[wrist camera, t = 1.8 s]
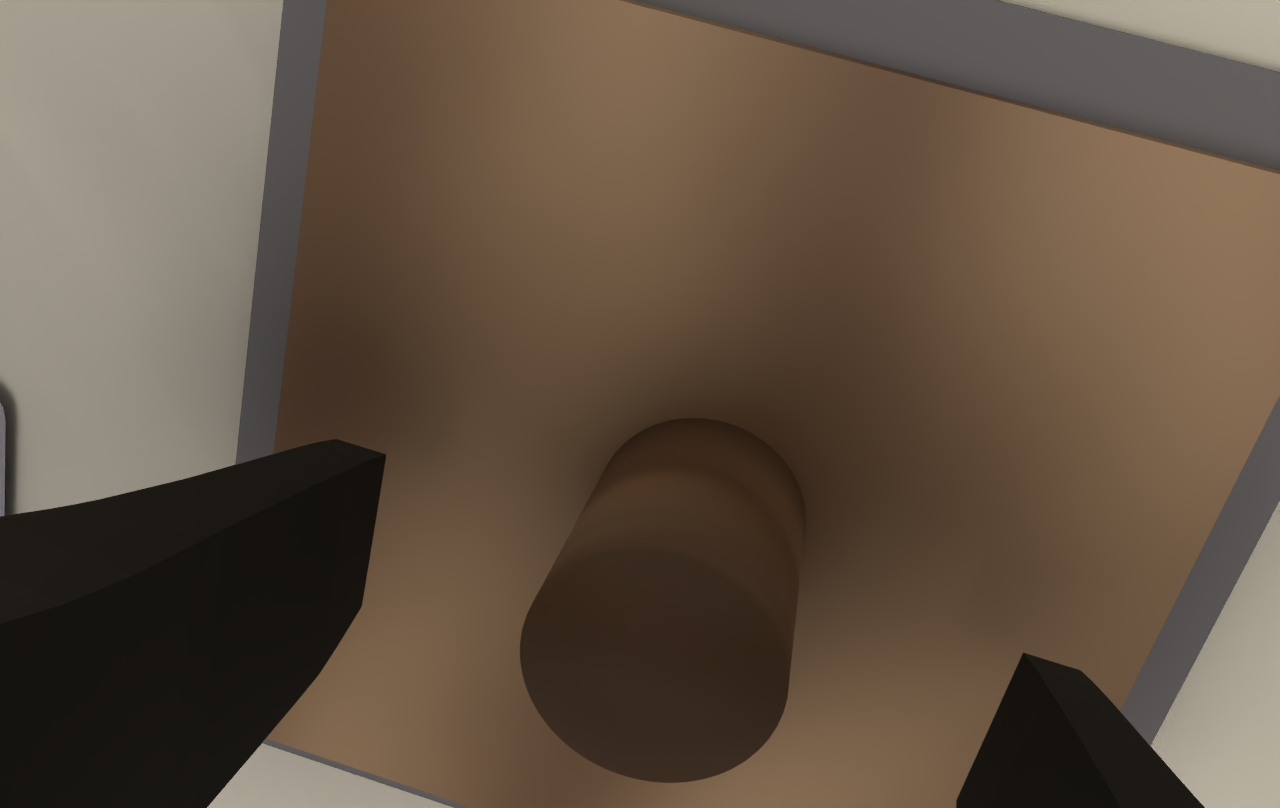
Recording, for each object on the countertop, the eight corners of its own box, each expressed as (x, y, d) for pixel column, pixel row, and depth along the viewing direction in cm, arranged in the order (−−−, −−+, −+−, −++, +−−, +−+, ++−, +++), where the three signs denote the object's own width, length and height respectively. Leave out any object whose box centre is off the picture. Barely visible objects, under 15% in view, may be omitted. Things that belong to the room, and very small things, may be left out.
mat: (221, 710, 19) (208, 724, 19) (316, -172, 14) (302, -178, 13) (1014, 976, 18) (1017, 997, 17) (1459, 119, 12) (1477, 123, 12)
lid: (269, 696, 18) (93, 902, 14) (367, -70, 14) (151, -102, 9) (978, 931, 17) (1016, 1231, 13) (1343, 186, 12) (1584, 280, 8)
